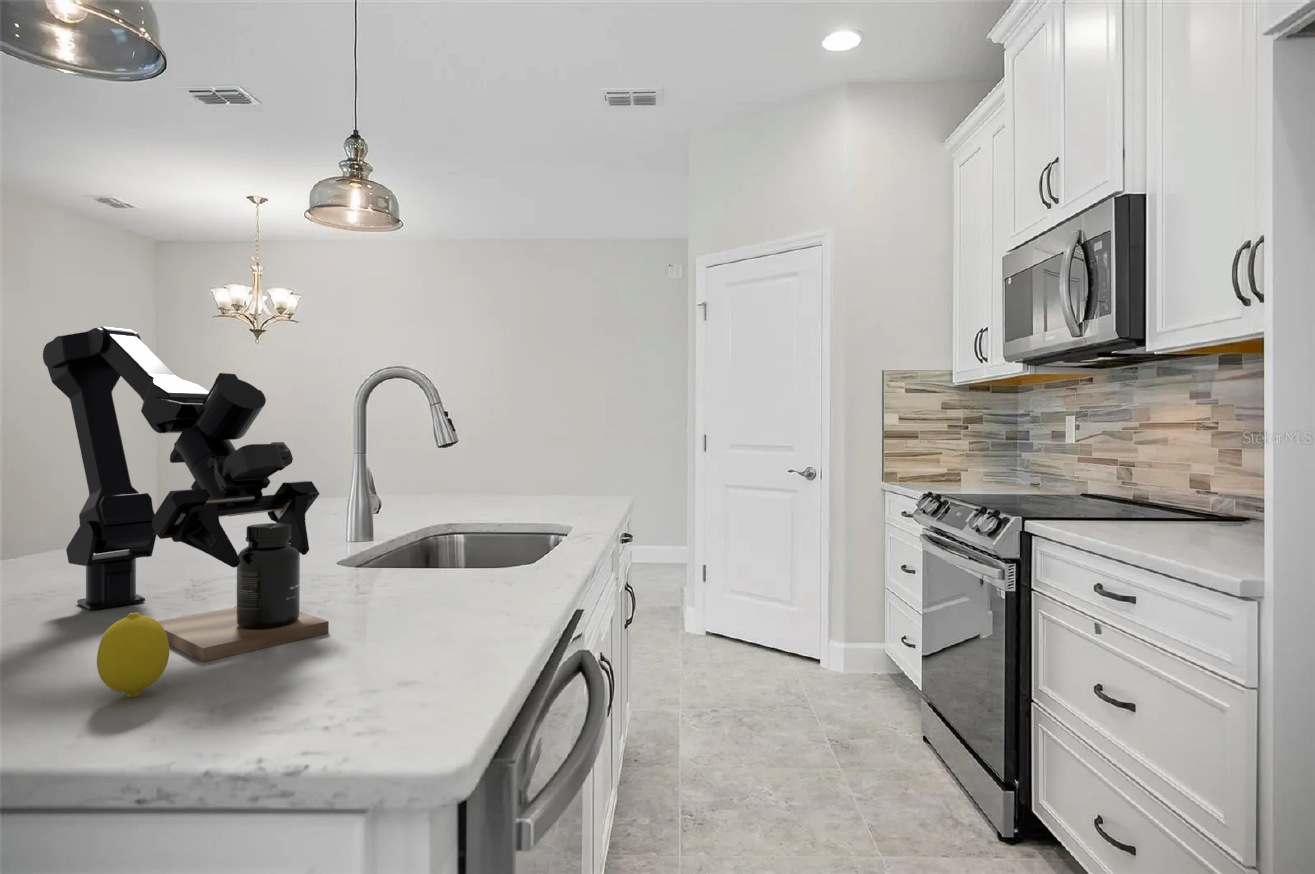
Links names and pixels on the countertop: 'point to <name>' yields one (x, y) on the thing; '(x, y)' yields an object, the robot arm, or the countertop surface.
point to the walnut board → (233, 633)
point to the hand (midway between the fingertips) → (273, 558)
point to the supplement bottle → (268, 578)
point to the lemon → (132, 654)
